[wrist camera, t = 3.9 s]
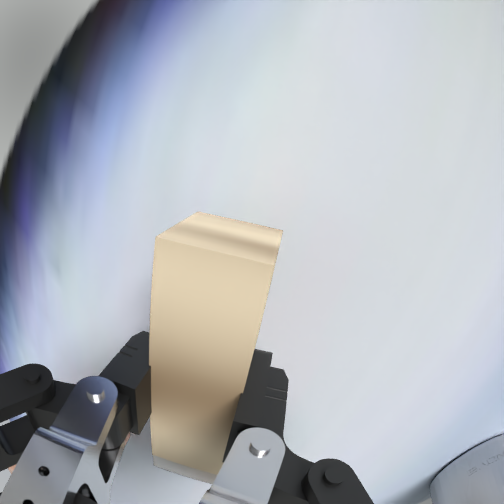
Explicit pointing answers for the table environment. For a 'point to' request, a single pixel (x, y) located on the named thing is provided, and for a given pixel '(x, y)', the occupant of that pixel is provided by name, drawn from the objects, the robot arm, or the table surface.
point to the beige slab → (204, 335)
